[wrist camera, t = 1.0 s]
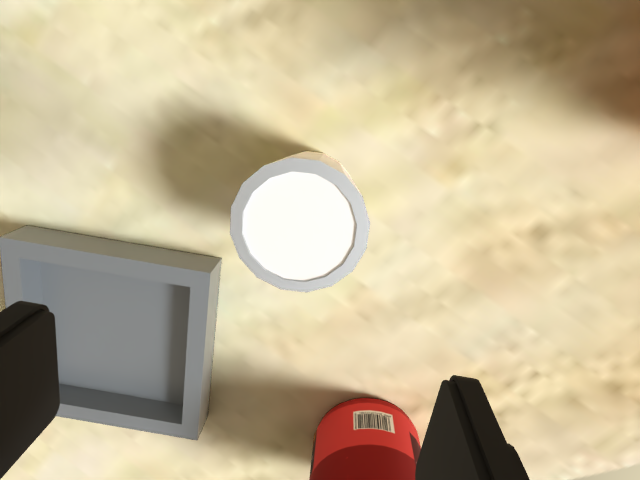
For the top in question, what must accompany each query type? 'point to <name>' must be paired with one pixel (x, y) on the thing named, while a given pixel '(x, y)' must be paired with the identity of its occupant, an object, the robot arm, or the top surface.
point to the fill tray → (122, 325)
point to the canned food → (365, 443)
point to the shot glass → (300, 222)
